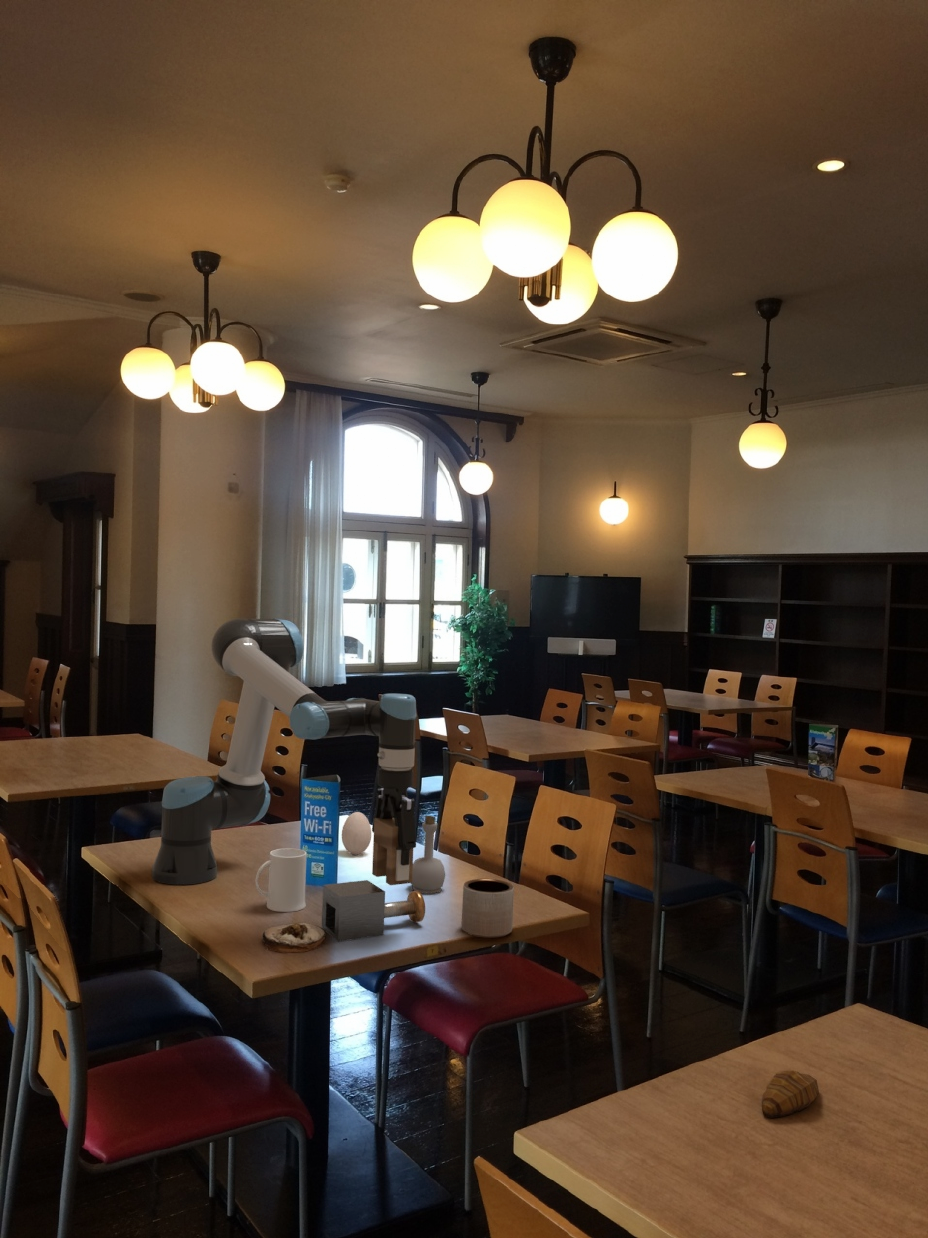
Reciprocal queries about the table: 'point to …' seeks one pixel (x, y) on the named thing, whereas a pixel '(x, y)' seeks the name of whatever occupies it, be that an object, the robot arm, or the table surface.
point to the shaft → (407, 907)
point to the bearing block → (353, 910)
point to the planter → (487, 908)
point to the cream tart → (294, 937)
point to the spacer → (387, 851)
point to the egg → (356, 833)
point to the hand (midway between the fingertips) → (391, 873)
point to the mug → (285, 880)
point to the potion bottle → (428, 863)
